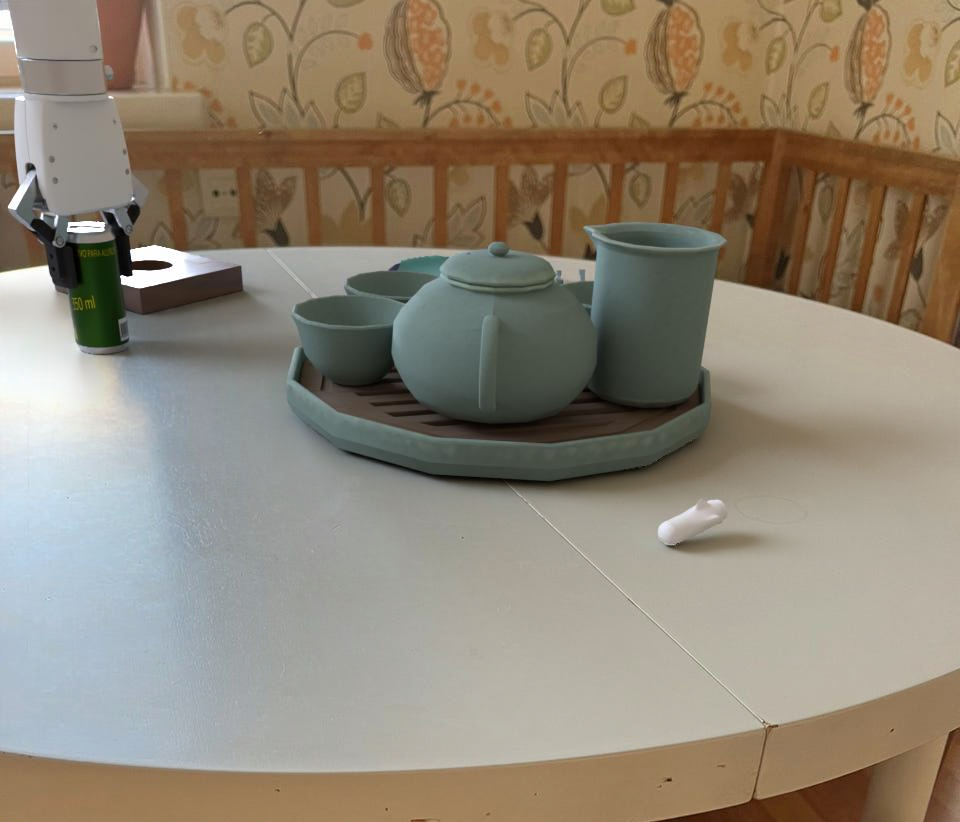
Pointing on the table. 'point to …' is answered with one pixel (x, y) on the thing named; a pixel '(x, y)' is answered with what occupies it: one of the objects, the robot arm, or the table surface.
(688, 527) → the small white plastic part
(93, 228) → the beer can
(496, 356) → the tea set
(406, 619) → the table surface
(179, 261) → the holder
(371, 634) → the table surface
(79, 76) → the robot arm
